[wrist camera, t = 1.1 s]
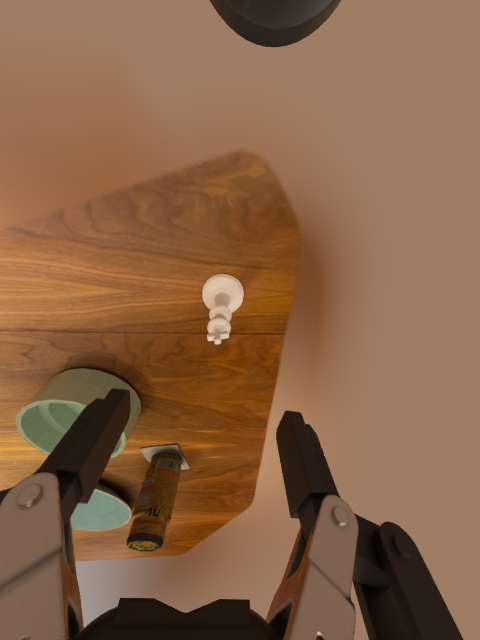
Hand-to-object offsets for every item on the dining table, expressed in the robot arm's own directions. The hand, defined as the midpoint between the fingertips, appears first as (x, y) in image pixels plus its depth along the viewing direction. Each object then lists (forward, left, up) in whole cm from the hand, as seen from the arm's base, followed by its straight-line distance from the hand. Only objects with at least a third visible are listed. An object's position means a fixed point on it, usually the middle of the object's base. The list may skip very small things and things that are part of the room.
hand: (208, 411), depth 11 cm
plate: (+54, -22, -16) cm, 61 cm away
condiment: (+36, -5, -16) cm, 40 cm away
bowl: (+21, -16, -16) cm, 31 cm away
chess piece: (0, 0, -16) cm, 16 cm away
